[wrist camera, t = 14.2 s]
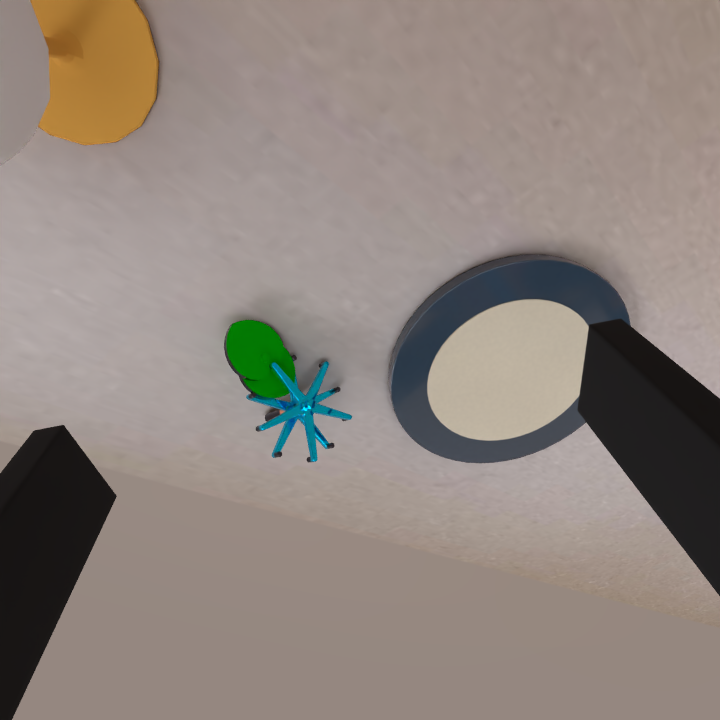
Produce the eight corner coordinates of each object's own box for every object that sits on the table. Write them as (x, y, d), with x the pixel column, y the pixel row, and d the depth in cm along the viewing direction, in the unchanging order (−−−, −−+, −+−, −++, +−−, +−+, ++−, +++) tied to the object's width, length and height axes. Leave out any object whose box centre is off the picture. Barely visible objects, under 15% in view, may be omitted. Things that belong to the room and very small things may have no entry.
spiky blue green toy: (372, 410, 35) (315, 484, 30) (324, 422, 40) (269, 487, 36) (277, 289, 32) (197, 350, 28) (239, 319, 38) (167, 374, 33)
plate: (644, 230, 32) (656, 236, 31) (603, 433, 43) (611, 442, 42) (372, 281, 32) (375, 288, 31) (401, 470, 43) (403, 481, 42)
